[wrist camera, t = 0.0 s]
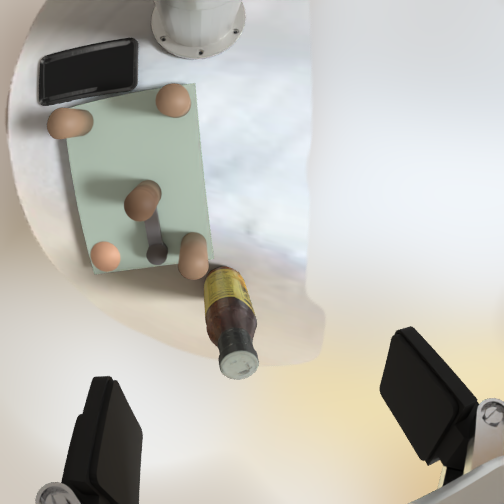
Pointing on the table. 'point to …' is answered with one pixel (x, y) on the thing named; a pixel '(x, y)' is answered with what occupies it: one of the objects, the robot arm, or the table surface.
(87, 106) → the stool seat
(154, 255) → the folding leg
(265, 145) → the table surface
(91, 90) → the phone
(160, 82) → the table surface
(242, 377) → the sauce bottle
